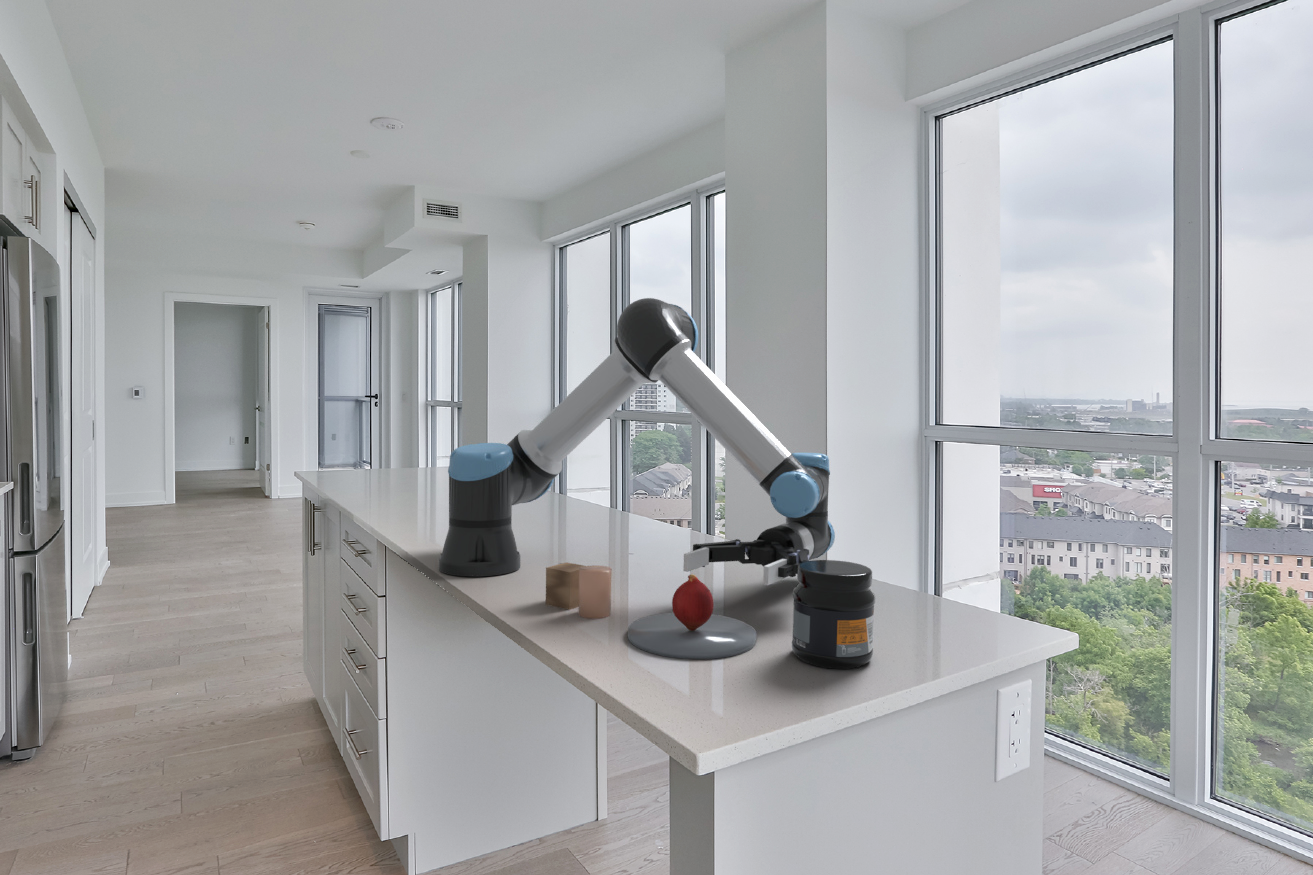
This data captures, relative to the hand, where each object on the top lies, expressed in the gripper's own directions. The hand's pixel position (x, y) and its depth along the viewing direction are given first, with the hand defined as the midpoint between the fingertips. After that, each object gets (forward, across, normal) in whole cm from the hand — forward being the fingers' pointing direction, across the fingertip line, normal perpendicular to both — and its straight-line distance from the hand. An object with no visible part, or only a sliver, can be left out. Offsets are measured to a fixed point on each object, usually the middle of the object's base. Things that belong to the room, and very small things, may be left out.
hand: (724, 569), depth 118 cm
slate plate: (+9, 0, -8) cm, 12 cm away
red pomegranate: (+9, 0, -7) cm, 12 cm away
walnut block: (+6, +25, -8) cm, 27 cm away
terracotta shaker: (+8, +18, -8) cm, 21 cm away
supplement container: (+5, -19, -8) cm, 21 cm away
